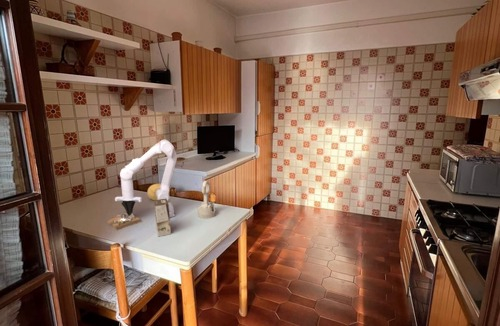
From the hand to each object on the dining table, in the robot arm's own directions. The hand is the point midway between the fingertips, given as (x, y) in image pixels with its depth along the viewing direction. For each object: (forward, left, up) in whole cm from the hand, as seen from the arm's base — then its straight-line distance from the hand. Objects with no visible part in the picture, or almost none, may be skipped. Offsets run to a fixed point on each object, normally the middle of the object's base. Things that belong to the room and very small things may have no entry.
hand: (129, 213), depth 146 cm
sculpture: (+23, -29, -5) cm, 37 cm away
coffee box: (-25, -6, -5) cm, 26 cm away
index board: (+2, +3, -5) cm, 6 cm away
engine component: (-25, -34, -5) cm, 42 cm away
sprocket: (+2, +3, -3) cm, 4 cm away
